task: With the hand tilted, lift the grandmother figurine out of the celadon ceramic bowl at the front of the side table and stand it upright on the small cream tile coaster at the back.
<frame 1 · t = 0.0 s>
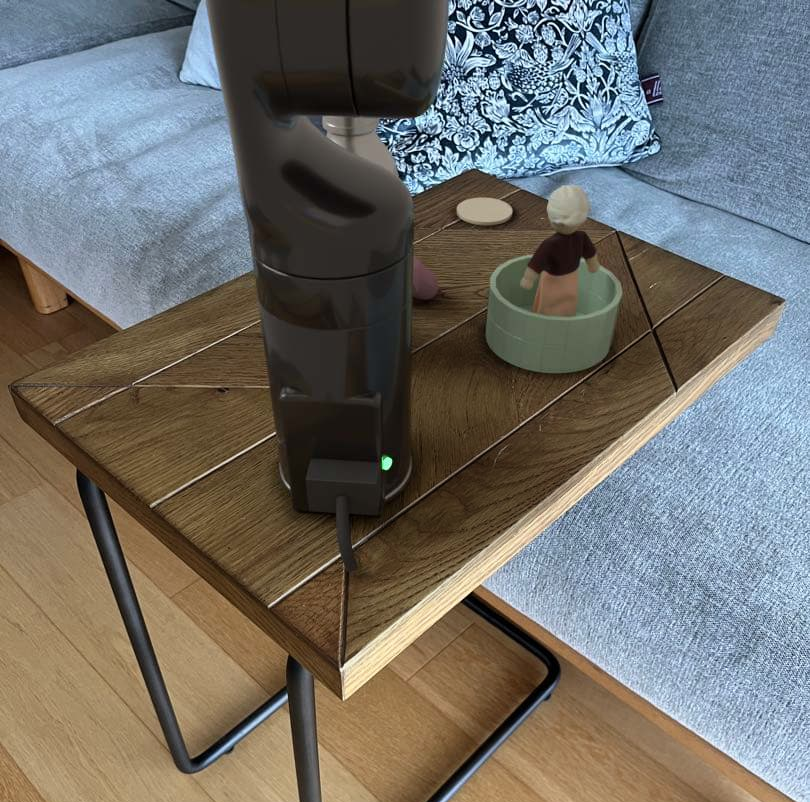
grandmother figurine: (547, 336, 71), resting on bowl
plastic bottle: (359, 355, 69), on the table
video game controller: (381, 297, 76), on the table
coaster: (484, 212, 88), on the table
bowl: (547, 337, 71), on the table
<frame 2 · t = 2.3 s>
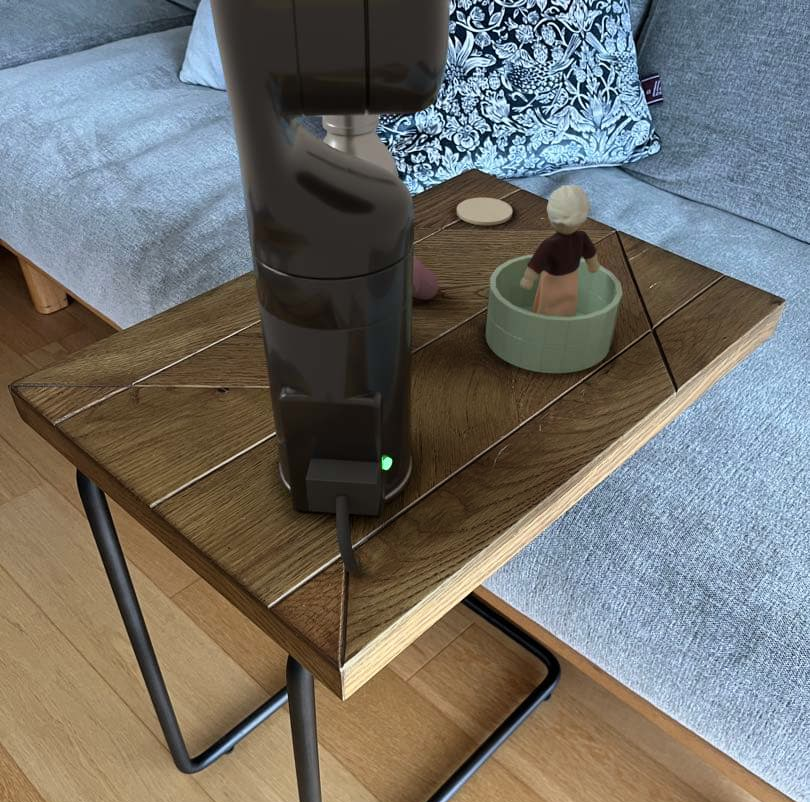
nothing on the table moved.
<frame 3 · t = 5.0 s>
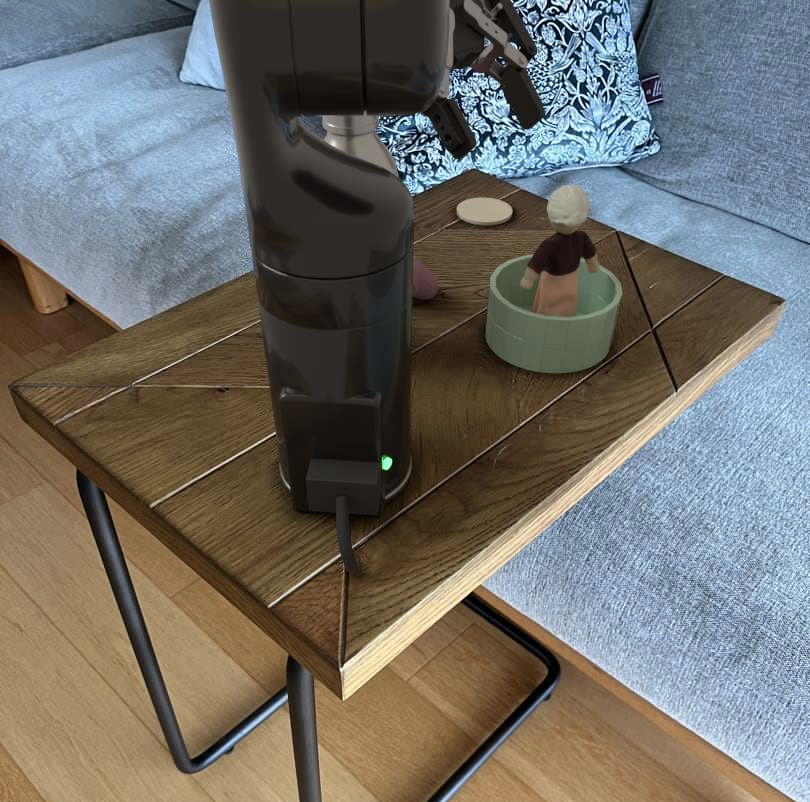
hand: (502, 137, 63), 15 cm above the table, tool tilted 45°, fingers open, 8 cm apart
nothing on the table moved.
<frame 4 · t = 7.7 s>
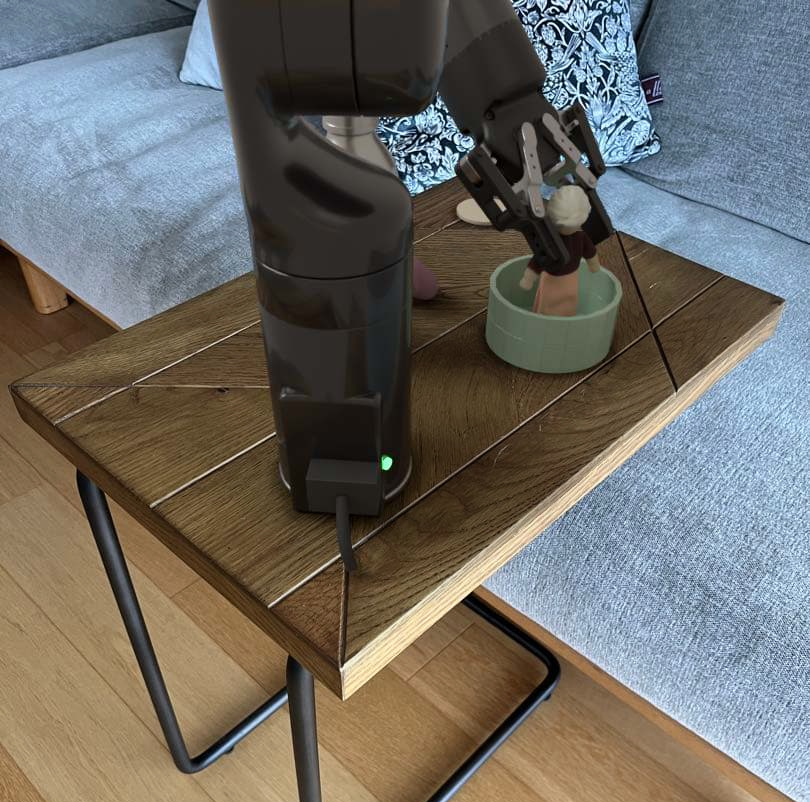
hand: (582, 252, 64), 8 cm above the table, tool tilted 45°, fingers closed on grandmother figurine, 5 cm apart
grandmother figurine: (548, 336, 71), resting on bowl, touching gripper
everything else where it was.
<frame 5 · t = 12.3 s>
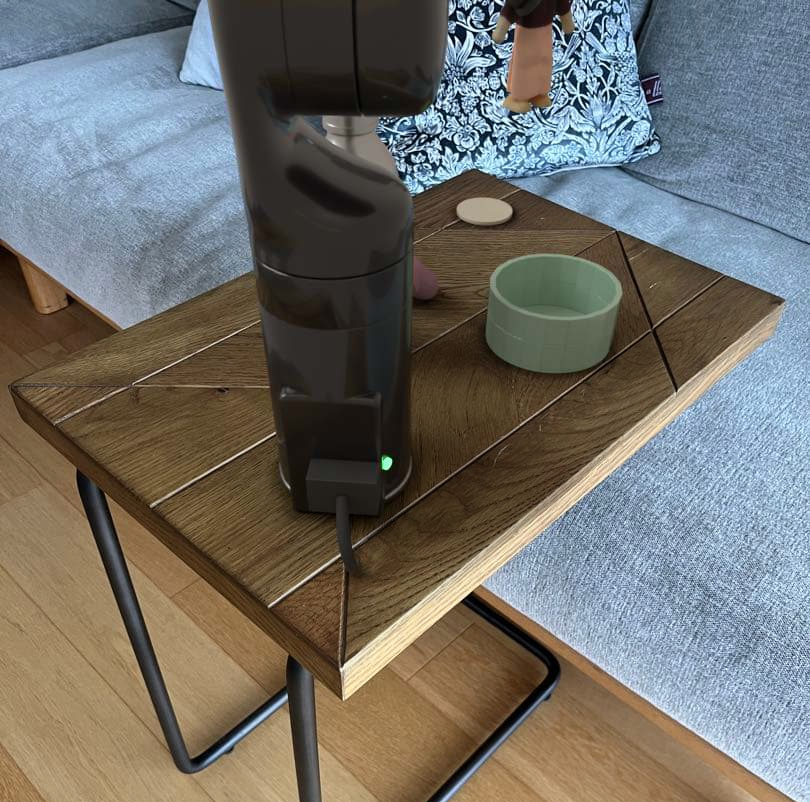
hand: (555, 0, 63), 22 cm above the table, tool tilted 45°, fingers closed on grandmother figurine, 5 cm apart
grandmother figurine: (522, 108, 70), point 14 cm above the table, touching gripper
everything else where it was.
when the fingers open (8 cm above the table, at t = 17.1 s): grandmother figurine stays where it is, resting on coaster.
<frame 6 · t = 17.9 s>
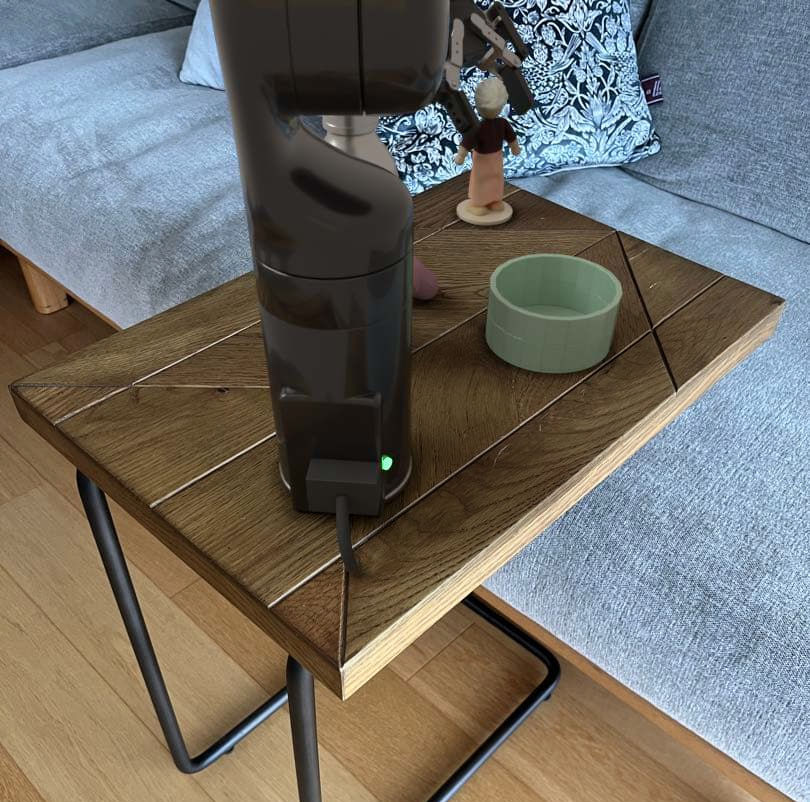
hand: (501, 121, 80), 10 cm above the table, tool tilted 45°, fingers open, 8 cm apart
grandmother figurine: (481, 211, 87), resting on coaster
everything else where it was.
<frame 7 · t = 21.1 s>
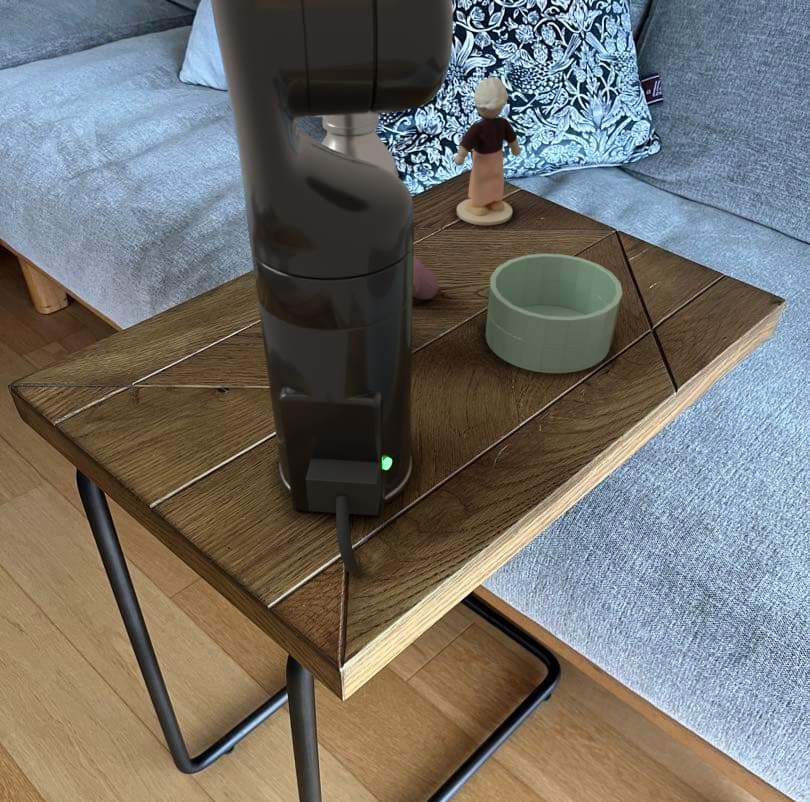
nothing on the table moved.
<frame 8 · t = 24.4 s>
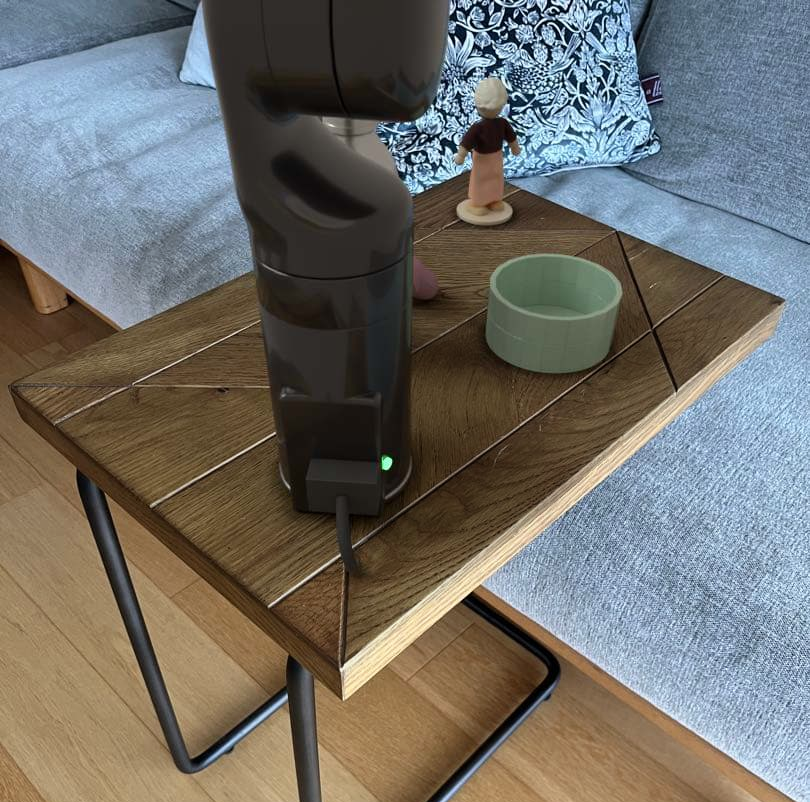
nothing on the table moved.
at the end: grandmother figurine 0.3 cm off-centre on the coaster, point 0.2 cm above the coaster's base; grandmother figurine tilted 0°; the gripper is holding nothing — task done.
